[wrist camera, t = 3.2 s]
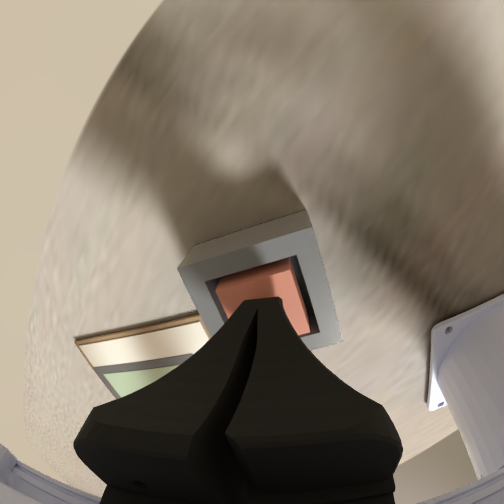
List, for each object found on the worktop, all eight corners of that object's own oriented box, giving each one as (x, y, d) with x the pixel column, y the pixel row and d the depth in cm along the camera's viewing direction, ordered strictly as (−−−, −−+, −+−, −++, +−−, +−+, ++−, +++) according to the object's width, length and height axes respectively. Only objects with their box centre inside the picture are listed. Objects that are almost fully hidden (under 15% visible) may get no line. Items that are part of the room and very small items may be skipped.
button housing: (306, 209, 12) (312, 226, 10) (334, 310, 14) (343, 341, 12) (193, 245, 13) (177, 268, 11) (234, 336, 15) (227, 368, 13)
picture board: (203, 312, 14) (202, 316, 14) (271, 435, 18) (271, 439, 18) (75, 340, 16) (73, 343, 16) (157, 442, 20) (156, 445, 20)
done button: (289, 256, 11) (290, 269, 10) (308, 315, 12) (310, 332, 11) (220, 276, 12) (215, 290, 11) (245, 331, 13) (242, 348, 12)
